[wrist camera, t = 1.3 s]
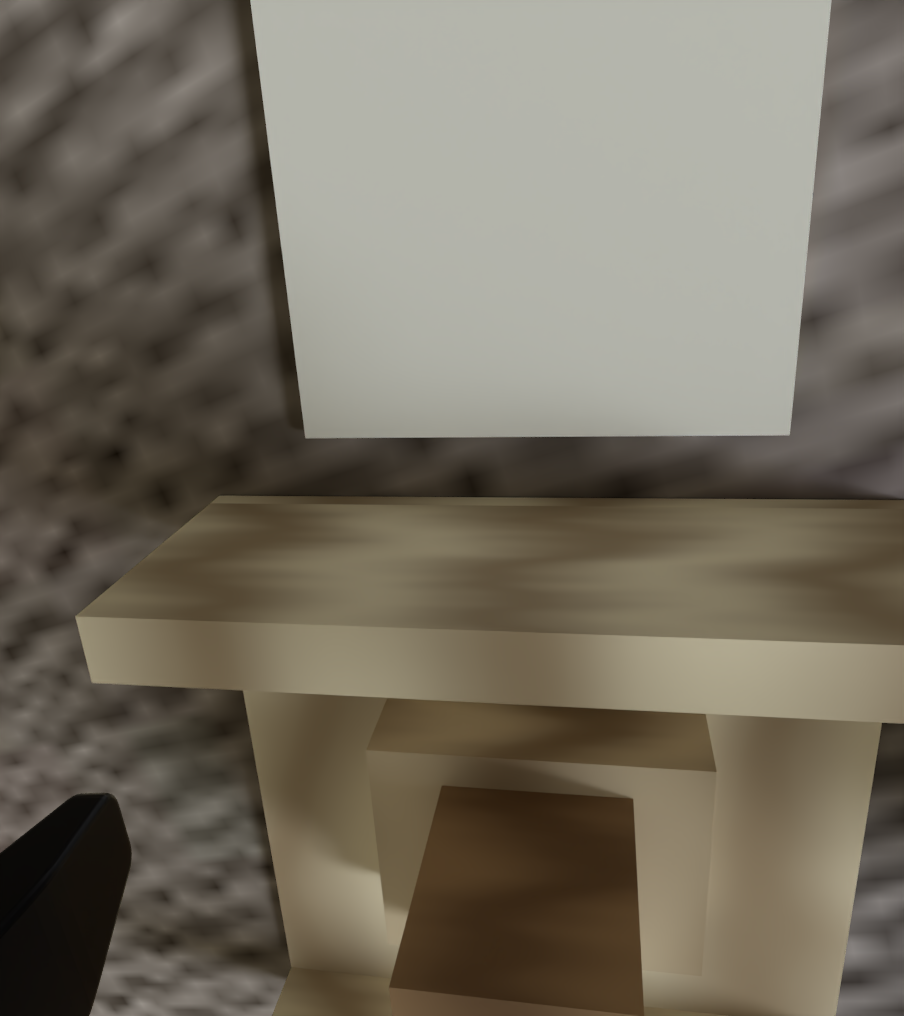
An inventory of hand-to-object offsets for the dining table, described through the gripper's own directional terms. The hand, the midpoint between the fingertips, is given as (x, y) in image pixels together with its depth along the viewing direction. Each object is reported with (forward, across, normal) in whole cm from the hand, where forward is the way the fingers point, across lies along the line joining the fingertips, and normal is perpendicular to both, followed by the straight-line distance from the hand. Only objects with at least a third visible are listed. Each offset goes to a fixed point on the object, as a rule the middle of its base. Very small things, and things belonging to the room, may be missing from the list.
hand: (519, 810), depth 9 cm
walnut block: (+10, -1, +12) cm, 15 cm away
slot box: (+12, -1, +12) cm, 17 cm away
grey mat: (+14, -1, -6) cm, 15 cm away
